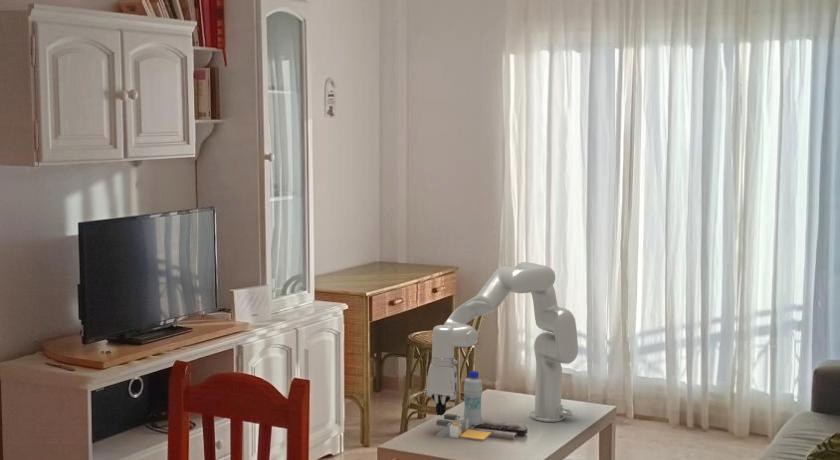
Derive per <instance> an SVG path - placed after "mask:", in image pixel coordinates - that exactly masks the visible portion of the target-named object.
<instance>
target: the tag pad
mask: <svg viewBox="0 0 840 460" xmlns="http://www.w3.org/2000/svg"><path fill="white" fill-rule="evenodd" d="M490 434H491V432H484V431H476V430H469V429H468V430H466V431H465V432H464V433H463V434H462V435H461V436H460V437H464V438H472V439H479V440H484V439H485V438H486V439H487V437H488V436H489V435H490ZM491 435H492V434H491ZM491 435H490V436H491ZM490 436H489V437H490ZM489 437H488V438H489ZM486 439H485V440H486ZM485 440H484V441H485Z"/></svg>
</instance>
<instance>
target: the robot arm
mask: <svg viewBox="0 0 840 460" xmlns="http://www.w3.org/2000/svg"><path fill="white" fill-rule="evenodd" d="M555 282H556V274H555V271H554V270H553V268H551V267H550V266H547V265H543V264H538V263H533V262H529V261H523V262H520V263H517V264H516V265H515V267H512V266H507V265H506V266H505V265H503V266H500V267H498V268H497V269H496V270H494V272H493V273H492V275H491V276H490V277H489V279H487V281H486V283H485V284H484V285H483V286H482V288H481V289H480V290H479V292H478V293H477V294H476V295H474V297H472V298H470V299H468V300H467V301H465V302H463V303H461V304H460V305H459V306H458V307H457V308H455V309H454V310H453V312H452V313H450V315H449V317H448V318H447V319H446V321H444V323H443V324H440V325H436V326H434V327H433V329H432V343H431V344H432V345H431V347H432V348H431V363H430V364H429V367H428V372H427V377H426V378H427V379H426V387H425V388H426V394H425V395H426V396H427V397H428V398H432V399H433V401H434V403H435V412H436V416H440V417H441V416H444V415H445V414H446V411H447V403H448V402H449V401H453V400H456V399H457V393H458V389H459V385H458V383H459V381H458V372H457V371H458V370H457V366H456V365H457V364H458V362H459V361H458V359H455V347H459V348H468V347H472V346H474V345H475V344H476V343H477V341H478V339H479V338H478V337H479V333H478V330H477V329H476V328H474V326H471V325H470V324H468V323H469V322H470V321H472V320H474V319H476V318H478V317H481V316H486V315H488V314H491V313H494V312H495V311H496V310H497V309H498V308H499V307H500V305H501V304H502V303H503V301H504V300H505V299H506V297H507V296H508V295H509V294H510V292H511V293H515V294H528V293H530V294H531V299H532V302H533V303H532V304H533V312H534V319H535V324H536V326H537V327H538V329H540V330H541V331H546V332H541V333H539V334H538V335H537V336H536V338H535V340H534V345H533V350H534V356H535V391H534V392H535V393H534V395H535V396H534V410H533V411H531V412H530V418H531V419H533V420H534V421H539V422H546V423H556V422H562V421H563V420H565V419H566V417H572V416H573V410H571V409H565V408H564V405H563V404H562V390H563V389H562V386H563V385H562V384H563V382H562V381H563V368H562V364H565V365H566V364H567V365H568V364H572V363H573V362H575V360H576V359H577V357H578V353H579V341H578V332H577V331H578V330H577V323H576V319H575V316H574V315H573V313H572V312H571V311H570V310H569V309H567V308H564V307H560V306H559V305H558V301H557V296H556V294H557V293H556V290H555V286H554V284H555ZM441 396H442V398H441ZM565 416H566V417H565Z"/></svg>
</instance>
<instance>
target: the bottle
mask: <svg viewBox="0 0 840 460" xmlns="http://www.w3.org/2000/svg"><path fill="white" fill-rule="evenodd" d="M463 393H464V409H463V417H465V418H469V427H470V426H475V427H476V426H479V425H481V424H482V394H483V381H482V379H480V378H479V372H478V371H476V370H471V371H469V373H468V377H467V378H466V379H464V385H463Z"/></svg>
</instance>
